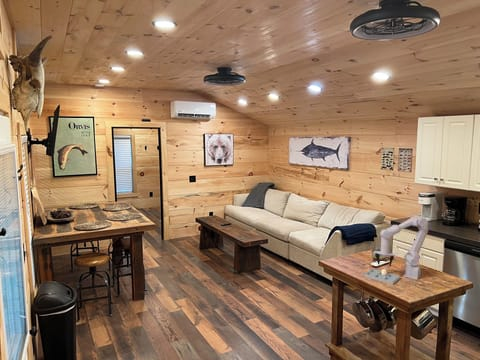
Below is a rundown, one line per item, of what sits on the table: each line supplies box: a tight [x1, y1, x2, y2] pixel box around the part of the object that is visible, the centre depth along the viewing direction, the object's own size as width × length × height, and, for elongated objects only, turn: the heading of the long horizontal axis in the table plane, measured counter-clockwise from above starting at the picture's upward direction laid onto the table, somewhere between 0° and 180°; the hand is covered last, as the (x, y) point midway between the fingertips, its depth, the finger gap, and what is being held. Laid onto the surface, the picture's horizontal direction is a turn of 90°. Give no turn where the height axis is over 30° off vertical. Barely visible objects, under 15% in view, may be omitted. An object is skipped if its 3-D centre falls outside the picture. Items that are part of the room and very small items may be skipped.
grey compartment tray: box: [363, 268, 401, 286], centre depth 251 cm, size 20×14×2 cm
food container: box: [370, 246, 387, 263], centre depth 284 cm, size 12×6×10 cm, turn 84°
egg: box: [380, 268, 388, 276], centre depth 253 cm, size 4×4×5 cm
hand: (384, 265), depth 252 cm, fingers open, 7 cm apart
